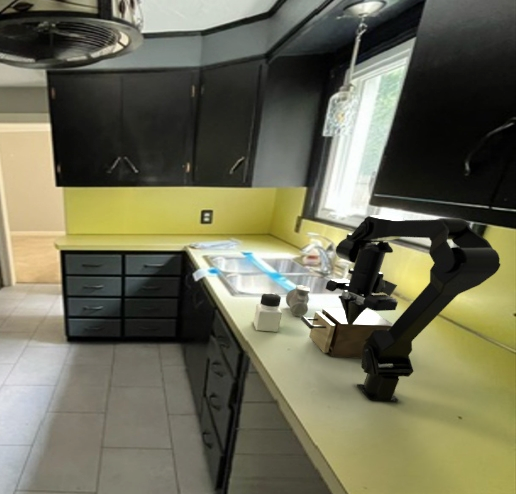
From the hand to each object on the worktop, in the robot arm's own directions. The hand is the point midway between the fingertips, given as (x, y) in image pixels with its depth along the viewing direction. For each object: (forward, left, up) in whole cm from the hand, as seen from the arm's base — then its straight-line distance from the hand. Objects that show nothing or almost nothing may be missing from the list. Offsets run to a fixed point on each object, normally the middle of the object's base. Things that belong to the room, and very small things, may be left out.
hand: (349, 323), depth 99 cm
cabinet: (+10, -7, -12) cm, 17 cm away
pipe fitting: (+41, -2, -12) cm, 43 cm away
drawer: (+10, -2, -11) cm, 15 cm away
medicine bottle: (+24, +14, -12) cm, 30 cm away
